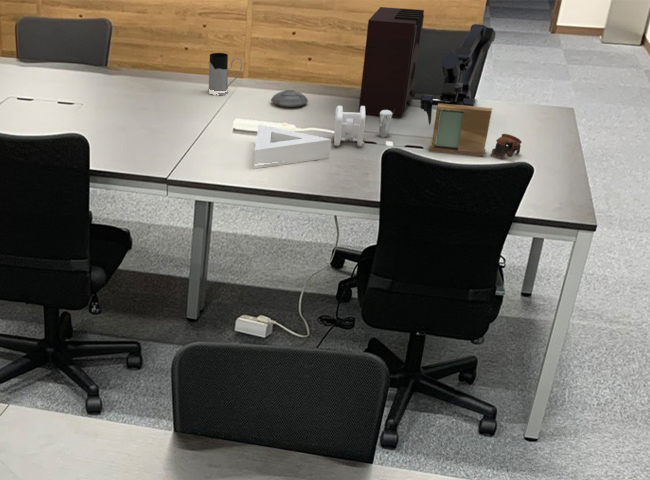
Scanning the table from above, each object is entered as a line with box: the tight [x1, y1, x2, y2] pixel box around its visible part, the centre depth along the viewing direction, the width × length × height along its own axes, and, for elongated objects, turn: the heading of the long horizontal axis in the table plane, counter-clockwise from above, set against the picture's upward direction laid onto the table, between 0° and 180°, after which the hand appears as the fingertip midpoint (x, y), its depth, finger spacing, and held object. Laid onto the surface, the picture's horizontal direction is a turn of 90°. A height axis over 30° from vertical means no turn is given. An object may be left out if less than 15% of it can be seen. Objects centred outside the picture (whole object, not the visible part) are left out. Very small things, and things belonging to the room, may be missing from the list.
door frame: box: [429, 103, 493, 158], centre depth 344 cm, size 5×19×16 cm, turn 71°
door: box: [436, 110, 464, 148], centre depth 346 cm, size 7×9×12 cm
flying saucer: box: [270, 89, 309, 108], centre depth 395 cm, size 15×15×6 cm
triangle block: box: [253, 124, 332, 170], centre depth 346 cm, size 30×26×6 cm
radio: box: [357, 6, 425, 119], centre depth 382 cm, size 19×27×35 cm
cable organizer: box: [333, 105, 366, 148], centre depth 353 cm, size 15×11×12 cm
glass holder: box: [208, 52, 243, 96], centre depth 406 cm, size 9×14×15 cm, turn 96°
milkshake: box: [378, 110, 394, 138], centre depth 360 cm, size 4×5×10 cm
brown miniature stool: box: [490, 133, 522, 160], centre depth 343 cm, size 12×10×8 cm
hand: (442, 125), depth 349 cm, fingers open, 9 cm apart
